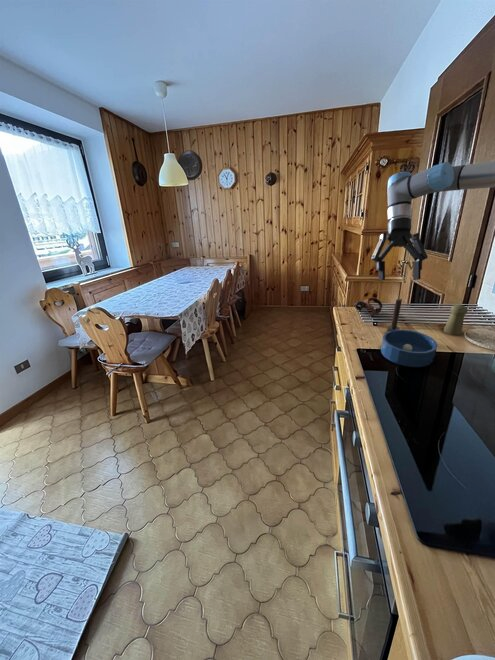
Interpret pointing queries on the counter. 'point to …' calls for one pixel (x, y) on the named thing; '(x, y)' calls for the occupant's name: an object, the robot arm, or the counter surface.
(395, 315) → the brown wooden pestle
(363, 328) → the counter surface
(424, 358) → the bowl
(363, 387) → the counter surface
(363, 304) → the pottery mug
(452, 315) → the olive green waisted cylinder
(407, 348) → the dumpling
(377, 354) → the counter surface
